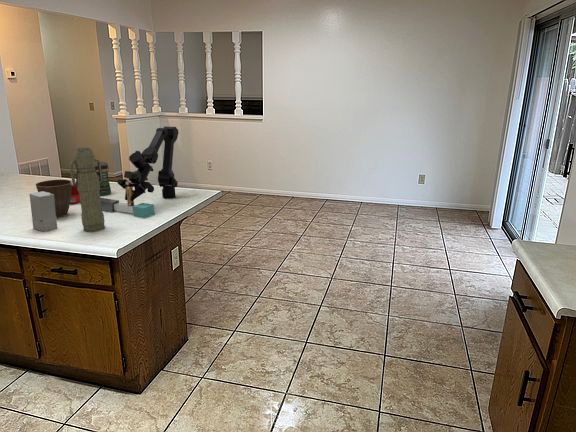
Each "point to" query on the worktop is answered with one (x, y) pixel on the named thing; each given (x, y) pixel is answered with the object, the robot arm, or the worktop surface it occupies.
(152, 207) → the socket
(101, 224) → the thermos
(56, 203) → the plant pot
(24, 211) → the worktop surface
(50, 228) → the skincare box
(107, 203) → the grey rectangular metal block
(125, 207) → the bronze post on bar
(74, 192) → the canned food
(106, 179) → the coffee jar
